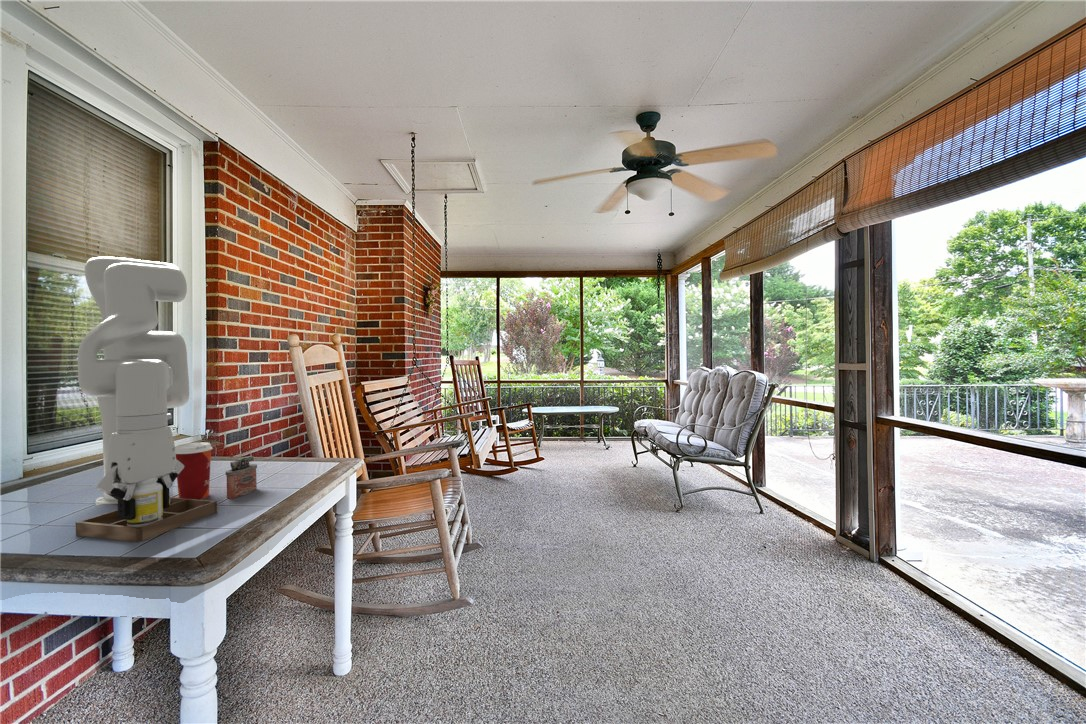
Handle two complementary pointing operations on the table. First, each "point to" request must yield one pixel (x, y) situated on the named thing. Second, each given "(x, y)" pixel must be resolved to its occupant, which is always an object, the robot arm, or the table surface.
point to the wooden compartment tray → (173, 517)
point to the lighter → (241, 477)
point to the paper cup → (194, 470)
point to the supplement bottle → (147, 503)
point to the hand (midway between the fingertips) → (145, 512)
